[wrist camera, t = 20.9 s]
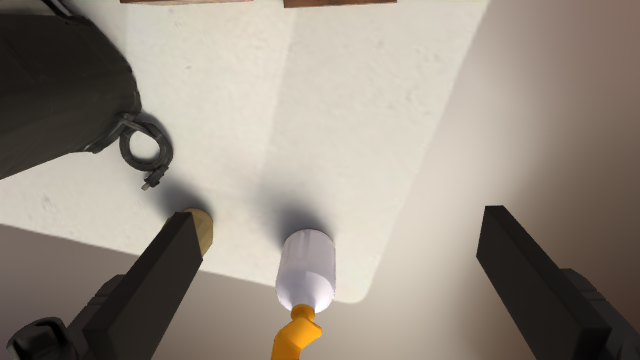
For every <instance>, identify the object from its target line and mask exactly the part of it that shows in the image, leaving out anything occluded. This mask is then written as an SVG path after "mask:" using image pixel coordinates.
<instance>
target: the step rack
mask: <svg viewBox="0 0 640 360" xmlns="http://www.w3.org/2000/svg"><path fill="white" fill-rule="evenodd" d="M242 1H253V0H120V3H125V4H145V5H181V4H201V3H222V2H242ZM283 1H284V8H299V7H320V6H341V5H362V4H383V3H397V0H283Z"/></svg>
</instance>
